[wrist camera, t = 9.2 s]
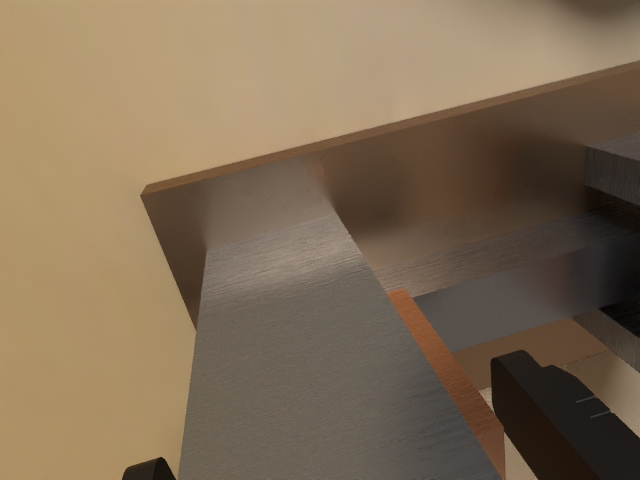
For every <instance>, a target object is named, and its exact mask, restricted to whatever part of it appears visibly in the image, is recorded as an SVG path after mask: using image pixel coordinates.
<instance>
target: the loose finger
mask: <svg viewBox="0 0 640 480" xmlns="http://www.w3.org/2000/svg"><path fill="white" fill-rule="evenodd" d="M178 480H506V476H505V450H504V427H503V425H502V424H501V422H500V421H499V420H498V418H497V417H496V415H495V414H494V413H493V411H492V410H491V408H490V407H489V406H488V404H487V403H486V401H485V400H484V399H483V397H482V396H481V394H480V393H479V392H478V390H477V389H476V387H475V386H474V385H473V383H472V382H471V380H470V379H469V378H468V376H467V375H466V373H465V372H464V371H463V369H462V368H461V366H460V365H459V364H458V362H457V361H456V359H455V358H454V357H453V355H452V354H451V352H450V351H449V349H448V348H447V347H446V345H445V344H444V342H443V341H442V340H441V338H440V337H439V335H438V334H437V333H436V331H435V330H434V328H433V327H432V326H431V324H430V323H429V321H428V320H427V319H426V317H425V316H424V314H423V313H422V312H421V310H420V309H419V307H418V306H417V305H416V303H415V302H414V300H413V299H412V298H411V296H410V295H409V293H408V292H407V291H406V289H405V288H401V289H398V290H395V291H391V292H388V293H386V292H385V290H384V289H383V287H382V286H381V284H380V282H379V281H378V279H377V277H376V276H375V274H374V273H373V271H372V269H371V268H370V266H369V265H368V263H367V261H366V260H365V258H364V257H363V255H362V253H361V252H360V250H359V249H358V247H357V245H356V244H355V242H354V241H353V239H352V237H351V236H350V234H349V233H348V231H347V229H346V228H345V226H344V225H343V223H342V221H341V220H340V218H339V217H338V215H337V214H333V215H329V216H326V217H322V218H318V219H315V220H311V221H307V222H304V223H300V224H296V225H293V226H289V227H285V228H282V229H278V230H274V231H271V232H267V233H263V234H260V235H256V236H252V237H249V238H245V239H241V240H238V241H234V242H230V243H227V244H223V245H219V246H216V247H212V248H208V249H207V253H206V261H205V269H204V276H203V284H202V292H201V300H200V308H199V316H198V324H197V332H196V339H195V347H194V355H193V363H192V371H191V379H190V387H189V395H188V403H187V410H186V418H185V426H184V434H183V442H182V450H181V458H180V466H179V474H178Z"/></svg>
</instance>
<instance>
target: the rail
mask: <svg viewBox="0 0 640 480" xmlns="http://www.w3.org/2000/svg"><path fill="white" fill-rule="evenodd" d="M140 196H141V199H142V201H143V203H144V206H145V208H146V211H147V213H148V216H149V218H150V220H151V223H152V225H153V228H154V230H155V232H156V235H157V237H158V240H159V242H160V245H161V247H162V249H163V252H164V254H165V257H166V259H167V261H168V264H169V266H170V269H171V271H172V274H173V276H174V278H175V281H176V283H177V286H178V288H179V291H180V293H181V295H182V298H183V300H184V303H185V305H186V307H187V310H188V312H189V315H190V317H191V320H192V322H193V324H194V327H195V329H196V332H197V324H198V316H199V308H200V300H201V292H202V284H203V276H204V269H205V261H206V253H207V249H208V248H212V247H216V246H219V245H223V244H227V243H230V242H234V241H238V240H241V239H245V238H249V237H252V236H256V235H260V234H263V233H267V232H271V231H274V230H278V229H282V228H285V227H289V226H293V225H296V224H300V223H304V222H307V221H311V220H315V219H318V218H322V217H326V216H329V215H333V214H337V215H338V217H339V218H340V220H341V221H342V223H343V225H344V226H345V228H346V229H347V231H348V233H349V234H350V236H351V237H352V239H353V241H354V242H355V244H356V245H357V247H358V249H359V250H360V252H361V253H362V255H363V257H364V258H365V260H366V261H367V263H368V265H369V266H370V268H371V269H372V271H373V273H374V274H375V276H376V277H377V279H378V281H379V282H380V284H381V286H382V287H383V289H384V290H385V292H386V293H388V292H391V291H395V290H398V289H401V288H405V289H406V291H407V292H408V293H409V295H410V296H411V298H412V299H413V300H414V302H415V303H416V305H417V306H418V307H419V309H420V310H421V312H422V313H423V314H424V316H425V317H426V319H427V320H428V321H429V323H430V324H431V326H432V327H433V328H434V330H435V331H436V333H437V334H438V335H439V337H440V338H441V340H442V341H443V342H444V344H445V345H446V347H447V348H448V349H449V351H450V352H451V354H452V355H453V357H454V358H455V359H456V361H457V362H458V364H459V365H460V366H461V368H462V369H463V371H464V372H465V373H466V375H467V376H468V378H469V379H470V380H471V382H472V383H473V385H474V386H475V387H476V389H477V390H478V391H479V390H482V389H485V388H488V387H491V367H490V362H491V359H492V358H494V357H498V356H501V355H504V354H508V353H511V352H514V351H518V350H525V351H526V352H528V353H529V354H530V355H531V356H532V357H533V358H534V360H535V361H536V362H537V363H538V364H539V365H540V366H541V367H542V368H543V367H546V366H549V365H552V364H553V365H554V366H556V367H557V366H560V365H563V364H566V363H570V362H573V361H576V360H579V359H583V358H586V357H589V356H592V355H596V354H599V353H602V352H605V351H609V350H611V351H613V352H614V353H615V354H616V355H618V356H619V357H620V358H621V359H623V360H624V361H625V362H626V363H628V364H629V365H630V366H631V367H633V368H634V369H635V370H636V371H638V372H639V373H640V61H636V62H632V63H628V64H624V65H620V66H616V67H612V68H608V69H604V70H600V71H597V72H593V73H589V74H585V75H581V76H577V77H573V78H569V79H565V80H561V81H557V82H553V83H549V84H545V85H541V86H537V87H533V88H529V89H525V90H521V91H517V92H513V93H509V94H505V95H501V96H498V97H494V98H490V99H486V100H482V101H478V102H474V103H470V104H466V105H462V106H458V107H454V108H450V109H446V110H442V111H438V112H434V113H430V114H426V115H422V116H418V117H414V118H410V119H406V120H402V121H399V122H395V123H391V124H387V125H383V126H379V127H375V128H371V129H367V130H363V131H359V132H355V133H351V134H347V135H343V136H339V137H335V138H331V139H327V140H323V141H319V142H315V143H311V144H307V145H303V146H300V147H296V148H292V149H288V150H284V151H280V152H276V153H272V154H268V155H264V156H260V157H256V158H252V159H248V160H244V161H240V162H236V163H232V164H228V165H224V166H220V167H216V168H212V169H208V170H205V171H201V172H197V173H193V174H189V175H185V176H181V177H177V178H173V179H169V180H165V181H161V182H157V183H153V184H149V185H146V187H145V189H144V190H143V192H142V193H141V195H140Z"/></svg>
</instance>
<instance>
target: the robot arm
mask: <svg viewBox="0 0 640 480" xmlns="http://www.w3.org/2000/svg"><path fill="white" fill-rule="evenodd" d="M490 367H491V389H492V405H493V409H494V412H495V415H496V417H497V418H498V420H499V421H500V422H501V424H502V425H503V427H504V432H505V433H506V435H507V436H508V437H509V439H510V440H511V442H512V443H513V445H514V446H515V447H516V449H517V450H518V452H519V453H520V454H521V456H522V457H523V459H524V460H525V462H526V463H527V464H528V466H529V467H530V469H531V470H532V471H533V473H534V474H535V476H536V477H537V479H538V480H640V438H639V437H638V436H637V435H636V434H635V433H634V432H633V431H632V430H631V429H630V428H629V427H628V426H627V425H626V424H624V423H623V422H622V421H621V420H620V419H619V418H618V417H617V416H616V415H615V414H614V413H611V412H610V409H609V408H608V407H607V406H606V405H605V404H604V403H603V402H602V401H601V400H600V399H598V398H595V396H594V394H593V393H592V392H591V391H590V390H589V389H588V388H587V387H586V386H585V385H584V384H583V383H582V382H581V381H580V380H579V379H578V378H577V377H575V376H573V375H571V374H570V373H568V372H566V371H564V370H562V369H560V368H558V367H556V366H554V365H553V364H552V365H549V366H546V367H543V368H542V367H541V366H540V365H539V364H538V363H537V362H536V361H535V360H534V358H533V357H532V356H531V355H530V354H529V353H528V352H526V351H525V350H518V351H514V352H511V353H508V354H504V355H501V356H498V357H494V358H492V359H491V362H490ZM122 480H176V479H175V477H174V475H173V473H172V471H171V469H170V468H169V466H168V464H167V462H166V460H165V459H164V458H162V457H159V458H156V459H153V460H150V461H146V462H143V463H140V464H136V465H133V466H130V467H128V468H127V469H126V470H125V472H124V474H123V478H122Z"/></svg>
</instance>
